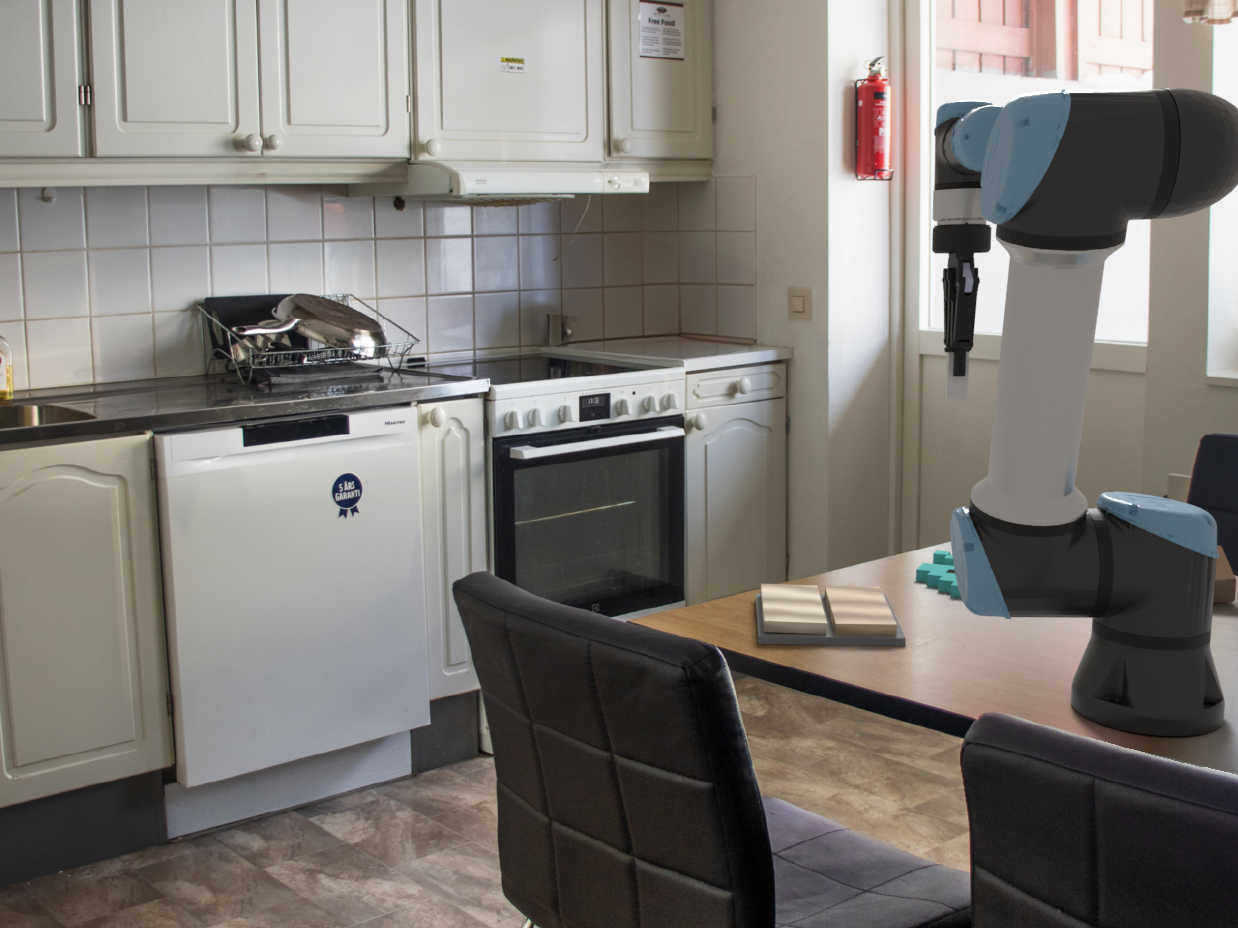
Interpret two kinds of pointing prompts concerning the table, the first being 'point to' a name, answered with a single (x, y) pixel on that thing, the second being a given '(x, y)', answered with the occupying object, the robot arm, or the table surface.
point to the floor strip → (859, 611)
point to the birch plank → (792, 609)
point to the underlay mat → (825, 638)
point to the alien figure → (940, 573)
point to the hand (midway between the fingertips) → (956, 399)
